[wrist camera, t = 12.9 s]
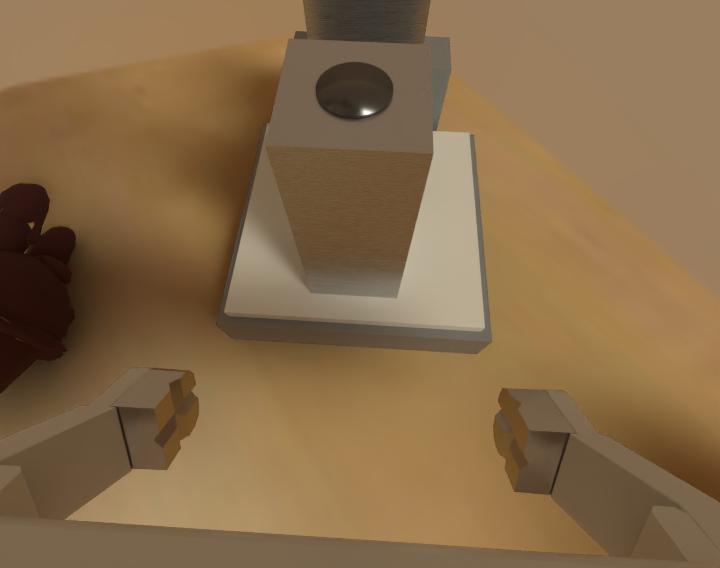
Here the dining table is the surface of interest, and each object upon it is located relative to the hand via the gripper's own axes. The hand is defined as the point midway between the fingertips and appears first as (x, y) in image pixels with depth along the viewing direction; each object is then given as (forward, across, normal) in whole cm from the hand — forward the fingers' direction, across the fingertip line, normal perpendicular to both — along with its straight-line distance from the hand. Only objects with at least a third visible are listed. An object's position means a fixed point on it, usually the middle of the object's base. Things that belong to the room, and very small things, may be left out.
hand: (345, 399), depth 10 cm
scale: (+16, 0, -2) cm, 16 cm away
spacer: (+11, 0, -1) cm, 11 cm away
